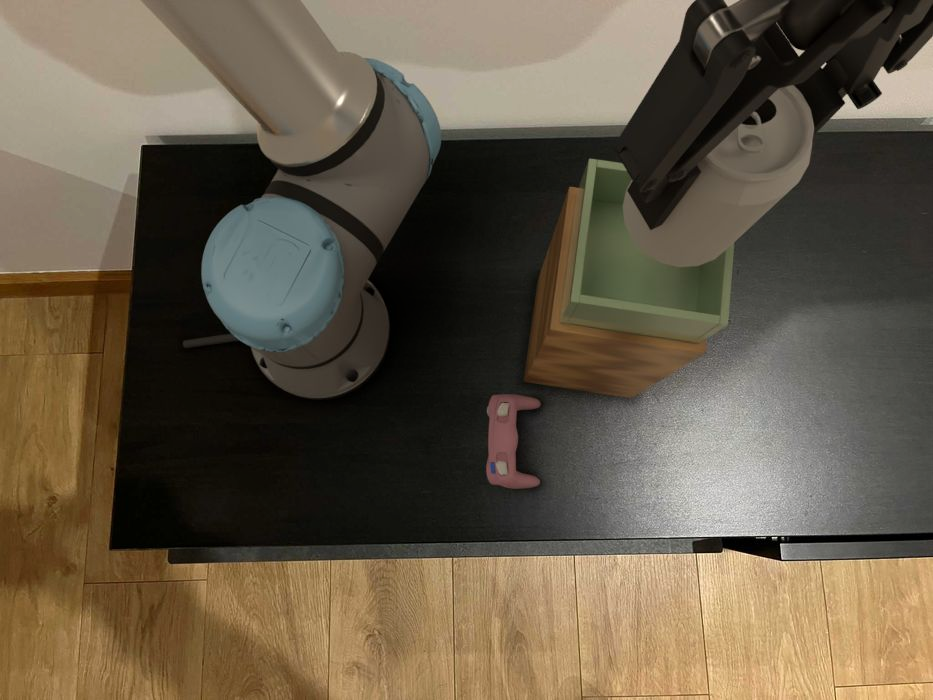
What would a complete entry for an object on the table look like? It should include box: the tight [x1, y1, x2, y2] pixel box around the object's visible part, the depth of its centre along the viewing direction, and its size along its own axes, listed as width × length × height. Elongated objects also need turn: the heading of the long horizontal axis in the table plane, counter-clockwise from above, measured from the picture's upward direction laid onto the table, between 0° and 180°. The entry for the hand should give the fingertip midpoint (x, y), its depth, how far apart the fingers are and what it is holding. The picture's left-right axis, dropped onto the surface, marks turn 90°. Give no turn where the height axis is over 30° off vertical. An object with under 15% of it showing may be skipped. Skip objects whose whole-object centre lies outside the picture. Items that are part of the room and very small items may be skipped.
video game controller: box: [485, 393, 542, 490], centre depth 73 cm, size 10×5×7 cm, turn 178°
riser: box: [523, 186, 708, 399], centre depth 66 cm, size 12×12×24 cm
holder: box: [559, 158, 735, 344], centre depth 51 cm, size 11×11×6 cm
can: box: [623, 85, 814, 267], centre depth 39 cm, size 8×8×12 cm
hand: (706, 177), depth 40 cm, fingers closed on can, 7 cm apart
